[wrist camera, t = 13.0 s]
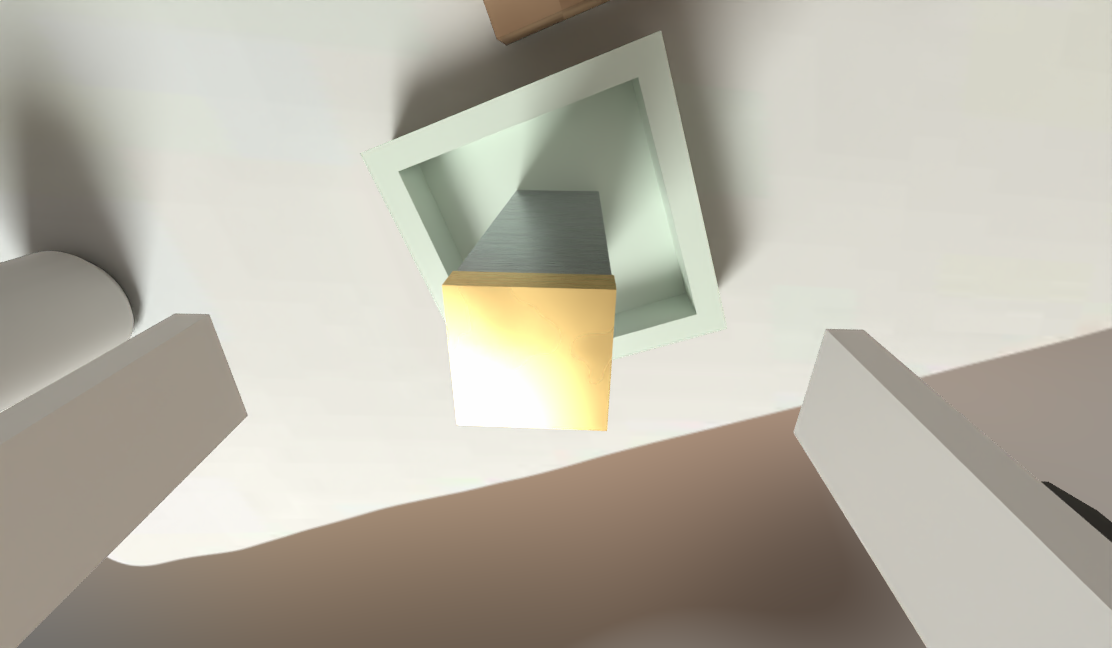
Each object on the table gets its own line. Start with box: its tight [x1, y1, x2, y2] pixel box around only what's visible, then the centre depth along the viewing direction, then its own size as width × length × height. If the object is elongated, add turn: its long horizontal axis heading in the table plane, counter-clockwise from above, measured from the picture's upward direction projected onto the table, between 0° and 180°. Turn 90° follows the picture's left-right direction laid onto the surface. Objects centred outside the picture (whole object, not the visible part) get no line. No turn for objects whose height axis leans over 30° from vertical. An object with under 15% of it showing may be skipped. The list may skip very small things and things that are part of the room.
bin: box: [360, 30, 727, 360], centre depth 22 cm, size 13×13×4 cm
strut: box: [442, 190, 617, 431], centre depth 17 cm, size 4×4×13 cm
